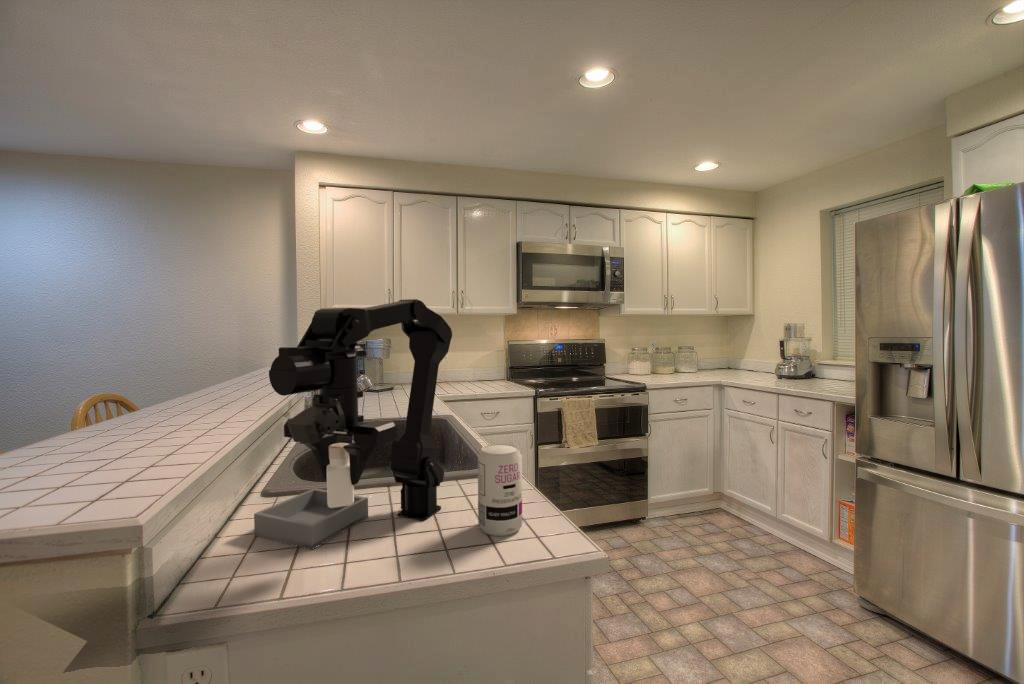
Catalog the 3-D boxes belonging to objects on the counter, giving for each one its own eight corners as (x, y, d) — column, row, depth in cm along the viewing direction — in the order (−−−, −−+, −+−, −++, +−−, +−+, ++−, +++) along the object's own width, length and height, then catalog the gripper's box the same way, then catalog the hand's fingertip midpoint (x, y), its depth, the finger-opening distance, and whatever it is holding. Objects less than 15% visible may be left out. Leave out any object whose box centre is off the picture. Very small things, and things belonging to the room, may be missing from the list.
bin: (368, 517, 91) (367, 497, 91) (312, 549, 79) (311, 526, 78) (315, 507, 97) (314, 488, 97) (254, 535, 84) (254, 513, 84)
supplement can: (496, 515, 92) (495, 440, 92) (530, 525, 88) (530, 447, 87) (469, 530, 86) (468, 450, 85) (505, 542, 81) (504, 457, 80)
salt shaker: (354, 506, 74) (353, 447, 73) (327, 509, 72) (325, 449, 72) (353, 497, 77) (352, 441, 77) (327, 500, 76) (326, 443, 75)
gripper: (252, 390, 70) (255, 491, 71) (349, 397, 63) (351, 509, 64) (310, 381, 81) (312, 469, 81) (398, 386, 73) (400, 483, 74)
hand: (341, 482), depth 75 cm, fingers closed on salt shaker, 5 cm apart
